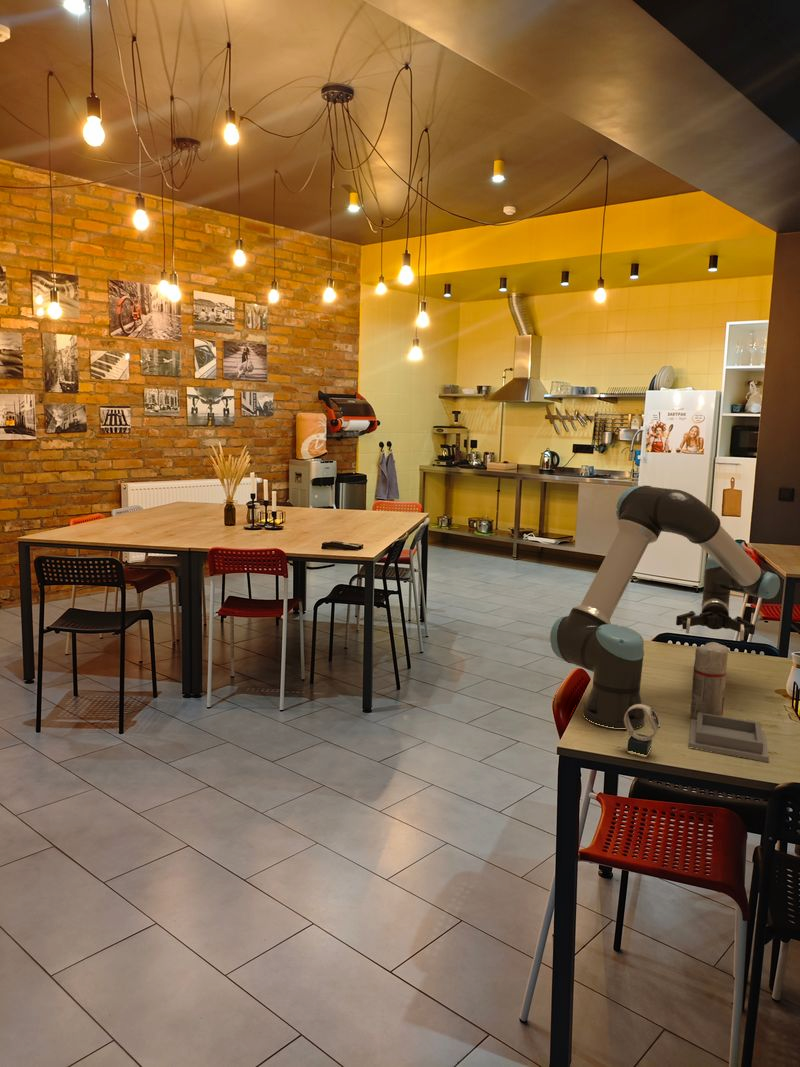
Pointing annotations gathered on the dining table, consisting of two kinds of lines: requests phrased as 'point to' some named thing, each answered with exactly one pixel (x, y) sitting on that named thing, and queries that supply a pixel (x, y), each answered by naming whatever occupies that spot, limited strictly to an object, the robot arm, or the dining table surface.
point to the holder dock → (729, 736)
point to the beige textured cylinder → (709, 679)
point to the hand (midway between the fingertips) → (714, 631)
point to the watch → (640, 741)
